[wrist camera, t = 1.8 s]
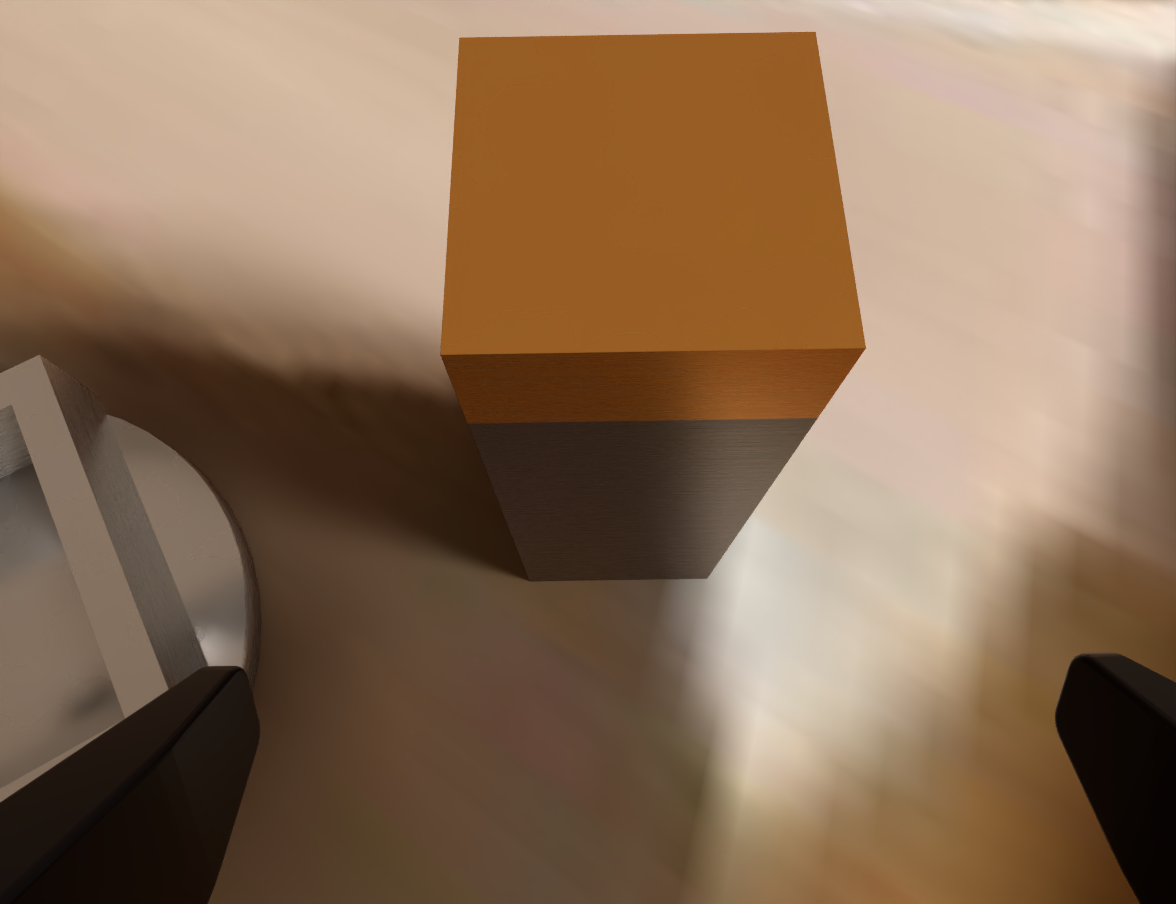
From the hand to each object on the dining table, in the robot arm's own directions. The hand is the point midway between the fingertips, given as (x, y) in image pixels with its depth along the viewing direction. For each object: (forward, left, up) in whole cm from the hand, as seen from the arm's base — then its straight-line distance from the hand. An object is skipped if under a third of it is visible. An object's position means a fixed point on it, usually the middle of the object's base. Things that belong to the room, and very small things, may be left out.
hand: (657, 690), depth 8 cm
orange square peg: (+5, +3, -12) cm, 13 cm away
